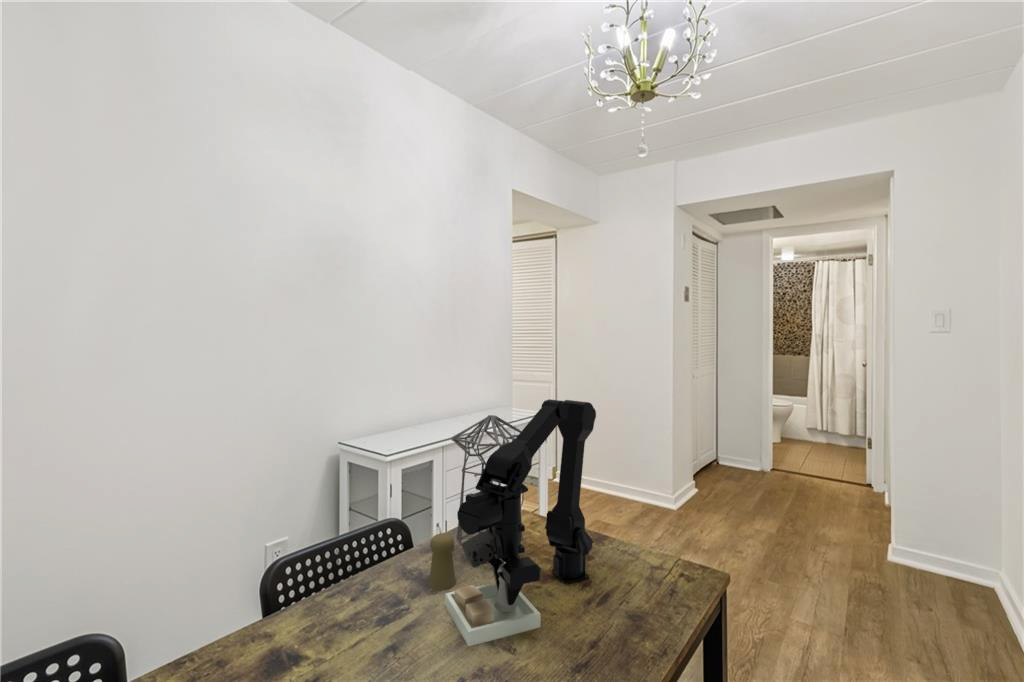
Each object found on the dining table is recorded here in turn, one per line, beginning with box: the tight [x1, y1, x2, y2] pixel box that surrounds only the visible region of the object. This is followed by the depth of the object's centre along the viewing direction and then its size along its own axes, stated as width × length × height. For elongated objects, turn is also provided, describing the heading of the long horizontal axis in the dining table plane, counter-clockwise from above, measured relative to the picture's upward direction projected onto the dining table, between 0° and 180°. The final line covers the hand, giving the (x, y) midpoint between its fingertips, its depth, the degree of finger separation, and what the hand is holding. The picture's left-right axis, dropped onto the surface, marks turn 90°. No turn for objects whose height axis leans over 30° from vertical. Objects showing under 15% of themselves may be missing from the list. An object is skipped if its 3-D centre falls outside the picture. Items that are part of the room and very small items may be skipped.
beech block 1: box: [454, 584, 483, 619], centre depth 96 cm, size 4×4×4 cm
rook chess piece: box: [494, 564, 517, 613], centre depth 96 cm, size 4×4×8 cm
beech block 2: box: [466, 600, 494, 628], centre depth 91 cm, size 4×4×4 cm
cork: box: [428, 532, 457, 591], centre depth 108 cm, size 6×6×11 cm
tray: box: [444, 582, 542, 647], centre depth 95 cm, size 14×14×3 cm
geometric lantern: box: [450, 414, 524, 547], centre depth 121 cm, size 16×16×35 cm
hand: (505, 598), depth 96 cm, fingers closed on rook chess piece, 4 cm apart
